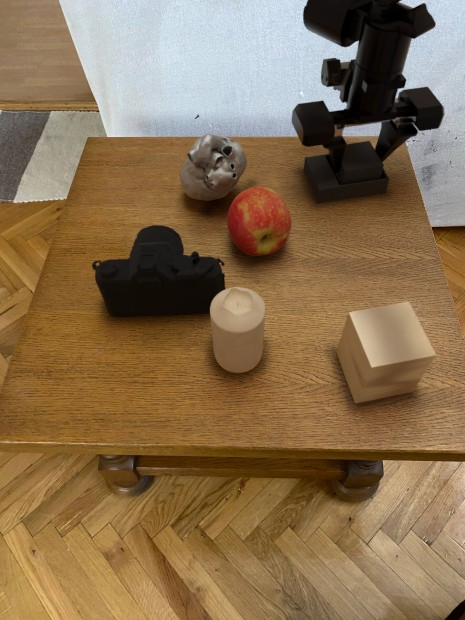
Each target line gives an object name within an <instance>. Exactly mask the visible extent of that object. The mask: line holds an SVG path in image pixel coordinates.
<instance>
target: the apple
mask: <svg viewBox="0 0 465 620" xmlns="http://www.w3.org/2000/svg"><path fill="white" fill-rule="evenodd" d="M292 222H293V221H292V215H291V212H290V209H289V207H288V204H287V203H286V201H285V200H284V198H283V197H282V196H281V195H280V194H279V193H277V192H276V191H275V190H273V189H271V188H269V187H264V186H251V187H249V188H246V189H244V190H242V191H241V192H239V194H237V195H236V196H235V198H234V199H233V201H232V203H231V204H230V206H229V209H228V212H227V218H226V223H227V230H228V234H229V235H230V238H231V240H232V242H233V243H234V245H235V246H236V247H237V248H238V249H239V251H241V252H243V253H244V254H246V255H249V256H251V257H258V256H259V257H261V256H266V255H270V254H273V253H275V252H278V251H279V250H280V249H281V248H282V247H283V246H284V245H285V244H286V242H287V241H288V238H289V236H290V234H291V232H292V231H291V230H292Z"/></svg>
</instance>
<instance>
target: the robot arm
mask: <svg viewBox="0 0 465 620" xmlns="http://www.w3.org/2000/svg"><path fill="white" fill-rule="evenodd" d="M401 1H403V0H307V1H306V4H305V5H304V7H303V10H302V11H303V12H302V20H303V26H304V27H305V29H306V30H307V31H309V32H311V33H313V34H315V35H317V36H319V37H321V38H323V39H325V40H327V41H329V42H331V43H333V44H336V45H338V46H340V47H342V48H348V47H351V46H352V45H354V44H355V43H356V42H358V43H357V48H356V54H355V58H353V59H350V60H349V61H342V62H341V60H340V58H337V57H330V58H323V59H322V64H321V70H320V82H321V83H320V84H321V85H322V86H324V87H326V88H332V89H333V91H339V97H338V98H339V100H340V102H341V103H342V104H344V103H345V104H346V106H345V108H343V109H339V110H331V111H330V110H329V108H328V106H327V104H326V103H325V101H324V100H317V101H310V102H302V103H301V102H300V103H297V104H296V105H295V106H294V108H293V110H292V113H291V124H292V127H293V128H294V130H295V133H296V135H297V138H298V139H299V142H300V144H301V146H304V147H306V148H312V147H319V146H322V148H324V149H325V150H327V151H328V154H329V155H330V160H331V164H332V168H331V169H332V171H333V173H334V175H337V173H338V171H339V169H340V167H341V163H342V159H343V156H344V152H345V148H346V144H348V143H347V142H346V140H345V138H344V136H343V134H344V130H345V128H350V127H351V128H352V127H358V126H359V127H360V126H366V125H372V124H380V123H381V125H380V127H381V128H380V129H379V134H378V138H377V140H376V145H375V147H374V149H375V151H376V153H377V154H378V156H379V158H380V159H381V161H382V163H384V162H385V161H386V160H387V159H388V158H389V157H390V156H391V155H392V154H394V152H395V151H397V149H398V148H400V147H401V146H402V145H404V144H405V143H406V142H407V141H408V140H410V139H411V138H413V137H416V136H417V135H418V133H419V132H423V131H431V130H438V129H439V128H440V127H441V125H442V122H443V120H444V117H445V113H446V112H445V107H444V105H443V104H442V103H441V101H440V100H439V99H438V98H437V96H436V95H435V94H434V93H433V91H432V90H431V89H430V87H429V86H421V87H413V88H407V89H405V87H406V83H407V78H406V77H405V76H404V75H403V73H404V69H405V65H406V61H407V58H408V54H409V50H410V47H411V43H412V41H413V40H415V39H417V38H419V37H421V36H423V35H425V34H426V33H428V32H430V31H432V30H433V29H435V28H436V25H437V24H436V21H435V19H434V17H433V15H432V14H431V13H430V12H429V10H428V6H427V3H425V2H423V3H421V4H418V5H417V6H414V7H412V6H410V5H408V4H406V3H403V2H401ZM399 89H402V90H401V91H399ZM398 91H399V92H398ZM397 95H398V96H397Z"/></svg>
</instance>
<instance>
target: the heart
mask: <svg viewBox="0 0 465 620" xmlns="http://www.w3.org/2000/svg"><path fill="white" fill-rule="evenodd" d="M192 144H193V145H192V146H191V148H190V150H189V151H187V152H186V156H187V158H186V159H185V161H184V163H183V164H182V166H181V169H180V172H179V182H180V186H181V190H182V191H183V193H185V195H186V196H187V197H189V198H190V199H193V200H199V201H205V202H206V201H207V202H209V201H210V202H211V201H214V200H219V199H222V198H224V197H226V196H228V193H230V192H232V191H234V189H235V188H237V185H238V184H239V181H240V179H241V177H242V176H243V175H244V173H245V171H246V169H247V164H248V160H247V156H246V154H245V151H244V149H243V146H242V144H241V143H240V142H238V141H236V140H235V139H233V138H230V137H228V136H224V135H216V134H211V133H206V134H204V135H202V137H198V138H197V139H196V140H195V141H194V143H192Z"/></svg>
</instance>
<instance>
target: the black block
mask: <svg viewBox="0 0 465 620" xmlns="http://www.w3.org/2000/svg"><path fill="white" fill-rule="evenodd" d="M330 162H331V160H330ZM384 165H385V164H384V162H382V161H381V159H380V158H379V156H378V154H377V153H376V151H375V147H374V146H373V144H372V142H371V140H365V141H358V142H352V143H347V144H346V148H345V152H344V156H343V159H342V163H341V167H340V169H339V171H338V173H337V174H336V176H337V178H338V180H339V182H340V185H345V184H352V183H359V182H365V181H372V180H378V179H380V178H381V174H382V171H383V169H384V167H385V166H384Z"/></svg>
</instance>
